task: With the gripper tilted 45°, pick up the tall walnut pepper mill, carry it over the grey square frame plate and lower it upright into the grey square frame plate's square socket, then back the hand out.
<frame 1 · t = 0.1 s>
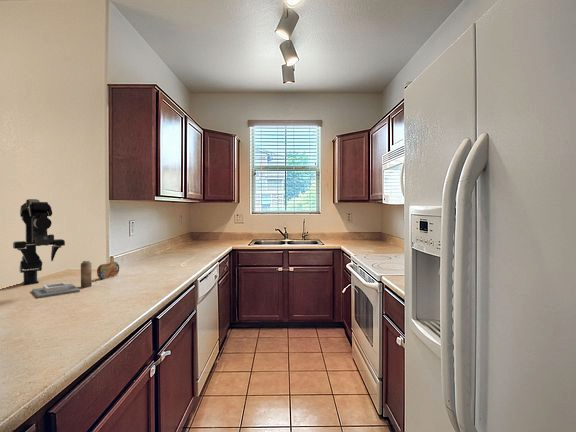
hand: (40, 262, 152), 15 cm above the counter, tool pointing down, fingers open, 9 cm apart
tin: (108, 277, 188), on the counter
grey square frame plate: (56, 291, 155), on the counter
mill: (86, 286, 166), on the counter
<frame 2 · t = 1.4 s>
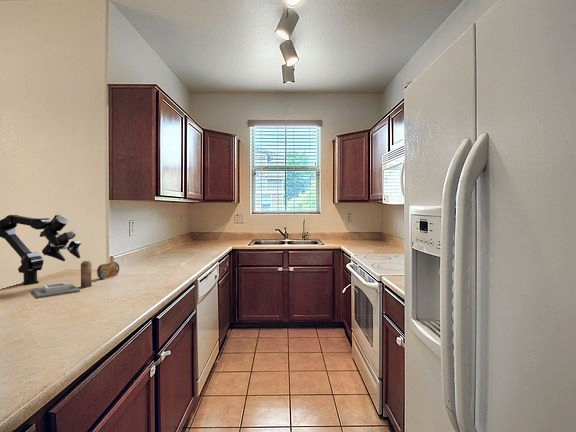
hand: (72, 259, 167), 14 cm above the counter, tool tilted 45°, fingers open, 9 cm apart
nothing on the counter moved.
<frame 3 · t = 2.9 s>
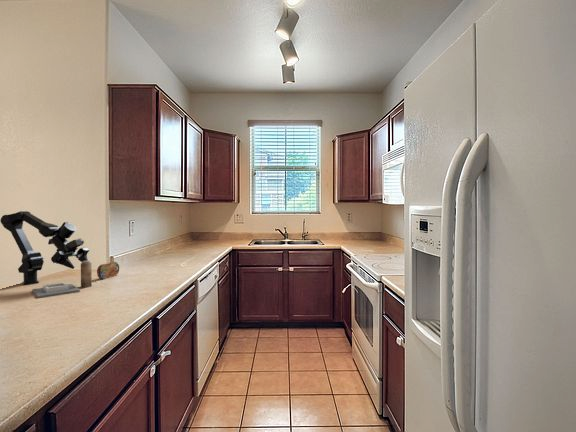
hand: (81, 266, 166), 10 cm above the counter, tool tilted 45°, fingers open, 9 cm apart
nothing on the counter moved.
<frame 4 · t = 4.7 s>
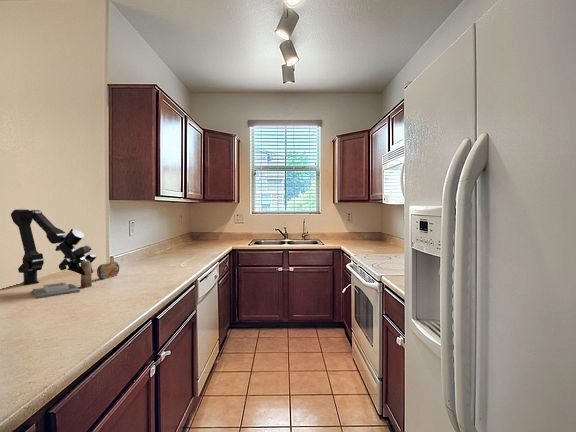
hand: (88, 273, 165), 7 cm above the counter, tool tilted 45°, fingers closed on mill, 5 cm apart
mill: (86, 286, 166), on the counter, touching gripper
everything else where it was.
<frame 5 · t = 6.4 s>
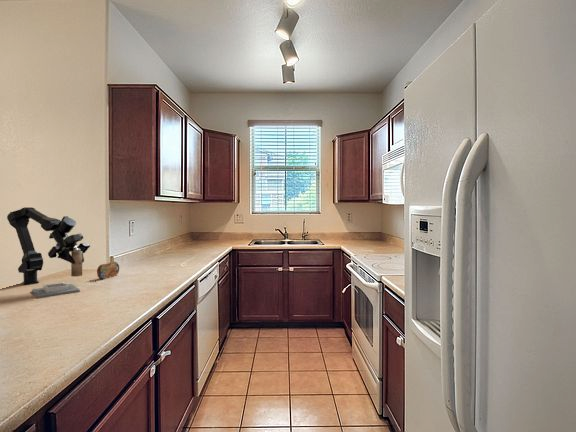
hand: (78, 262, 161), 13 cm above the counter, tool tilted 45°, fingers closed on mill, 5 cm apart
mill: (76, 275, 162), point 6 cm above the counter, touching gripper
everything else where it was.
when the fingers open (9 cm above the counter, at t = 8.3 s): mill drops 1 cm, resting on grey square frame plate.
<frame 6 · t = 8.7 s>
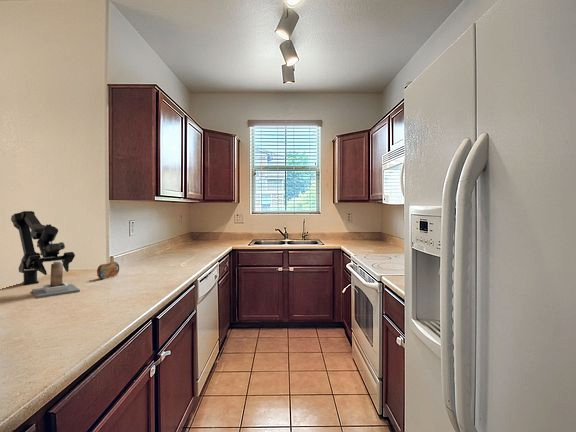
hand: (57, 273, 154), 9 cm above the counter, tool tilted 45°, fingers open, 9 cm apart
mill: (56, 289, 156), point 1 cm above the counter, touching grey square frame plate
everything else where it was.
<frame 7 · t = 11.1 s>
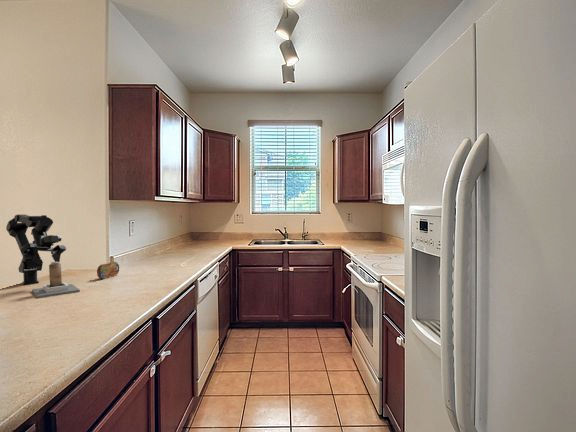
hand: (49, 264, 160), 12 cm above the counter, tool tilted 35°, fingers open, 9 cm apart
nothing on the counter moved.
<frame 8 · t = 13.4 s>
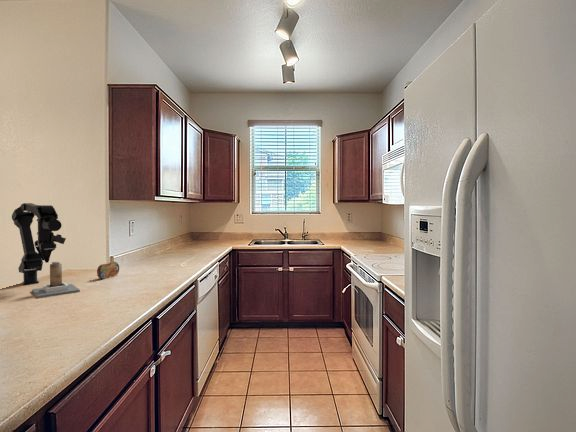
hand: (45, 261, 163), 13 cm above the counter, tool pointing down, fingers open, 9 cm apart
nothing on the counter moved.
at the end: mill 0.1 cm off-centre on the grey square frame plate, point 1.1 cm above the grey square frame plate's base; mill tilted 2°; the gripper is holding nothing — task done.
